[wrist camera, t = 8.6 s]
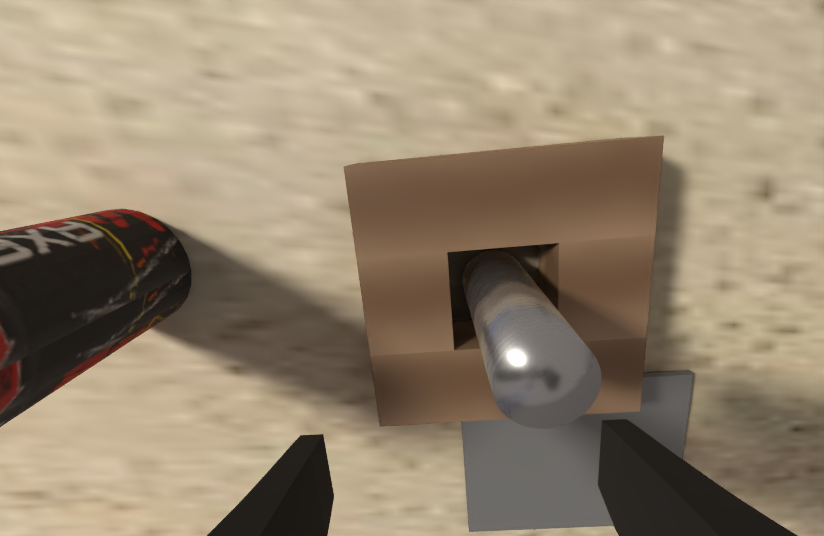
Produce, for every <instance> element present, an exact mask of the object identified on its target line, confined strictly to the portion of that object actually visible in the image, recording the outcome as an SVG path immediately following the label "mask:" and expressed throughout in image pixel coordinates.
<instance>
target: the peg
mask: <svg viewBox="0 0 824 536" xmlns="http://www.w3.org/2000/svg"><path fill="white" fill-rule="evenodd" d="M462 283H463V288H464V292H465V295H466V299H467V303H468V306H469V310H470V313H471V317H472V321H473V324H474V328H475V332H476V335H477V339H478V342H479V346H480V350H481V353H482V357H483V361H484V364H485V368H486V372H487V375H488V379H489V382H490V386H491V390H492V393H493V397H494V400H495V402H496V404H497V406H498V407H499V409H500V410H501V411H502V413H503V414H505V415H506V416H507V417H508V418H509V419H511V420H512V421H514V422H516V423H518V424H520V425H523V426H526V427H530V428H537V429H547V428H554V427H559V426H562V425H565V424H568V423H570V422H572V421H574V420H576V419H577V418H579V417H580V416H581V415H583V414H584V413H585V412H586V411H587V410H588V409H589V408H590V407H591V406H592V404H593V403H594V401H595V400H596V398H597V396H598V393H599V390H600V387H601V369H600V366H599V363H598V361H597V359H596V357H595V356H594V354H593V353H592V352H591V350H590V349H589V348H588V347H587V345H586V344H585V343H584V342H583V341H582V339H581V338H580V337H579V336H578V334H577V333H576V332H575V331H574V330H573V328H572V327H571V326H570V325H569V323H568V322H567V321H566V320H565V318H564V317H563V316H562V315H561V314H560V312H559V311H558V310H557V309H556V307H555V306H554V305H553V304H552V303H551V301H550V300H549V299H548V298H547V296H546V295H545V294H544V293H543V291H542V290H541V289H540V288H539V287H538V285H537V284H536V283H535V282H534V280H533V279H532V278H531V277H530V276H529V274H528V273H527V272H526V271H525V269H524V268H523V267H522V266H521V264H520V263H519V262H518V261H517V260H516V259H515V258H514V257H513V256H512V255H510V254H509V253H506V252H504V251H499V250H489V251H485V252H482V253H480V254H478V255H476V256H475V257H473V258H472V259H471V260H470V261H469V263H468V264H467V265H466V267H465V269H464V272H463V277H462Z"/></svg>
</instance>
